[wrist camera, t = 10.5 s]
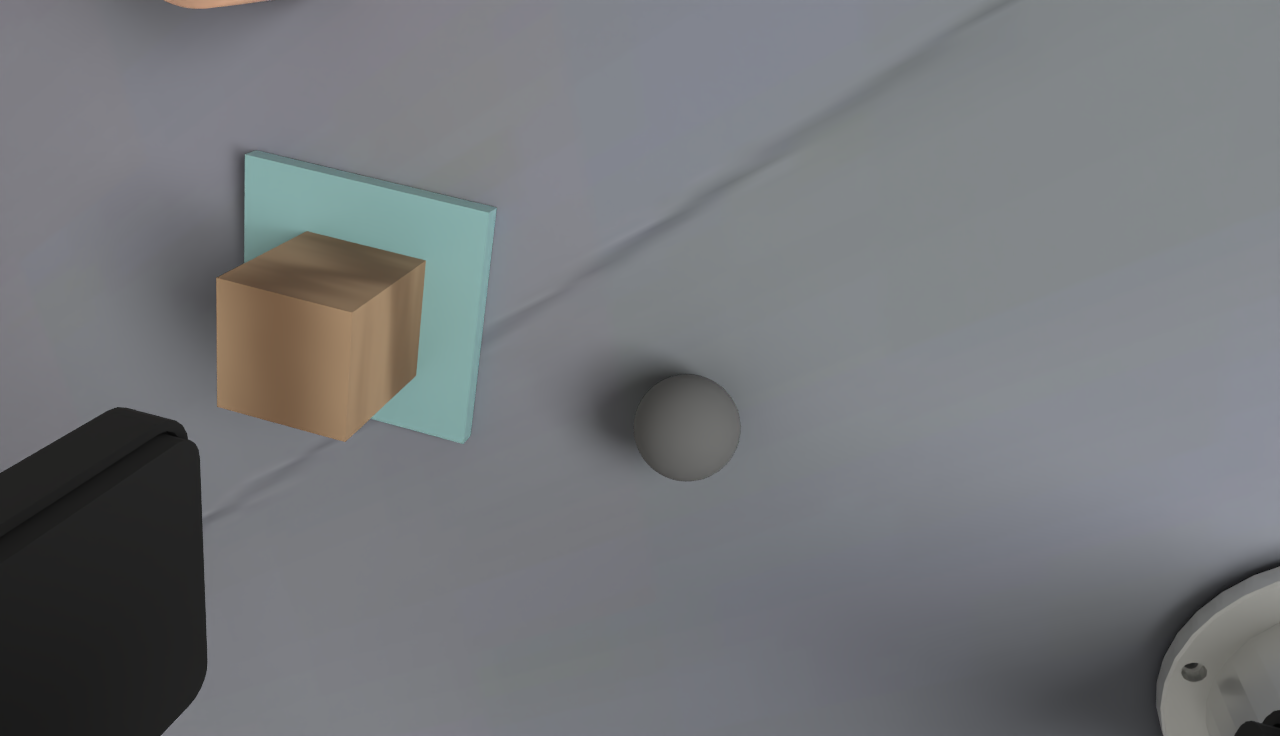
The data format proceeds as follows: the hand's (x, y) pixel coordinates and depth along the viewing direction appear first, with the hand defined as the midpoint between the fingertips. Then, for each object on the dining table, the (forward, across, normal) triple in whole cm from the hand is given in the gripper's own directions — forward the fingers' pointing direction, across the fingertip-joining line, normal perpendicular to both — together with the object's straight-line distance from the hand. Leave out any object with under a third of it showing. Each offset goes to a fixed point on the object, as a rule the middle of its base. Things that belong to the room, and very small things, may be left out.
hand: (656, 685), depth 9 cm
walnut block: (+28, +17, +10) cm, 34 cm away
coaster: (+29, +17, +10) cm, 35 cm away
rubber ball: (+27, +3, +11) cm, 30 cm away
